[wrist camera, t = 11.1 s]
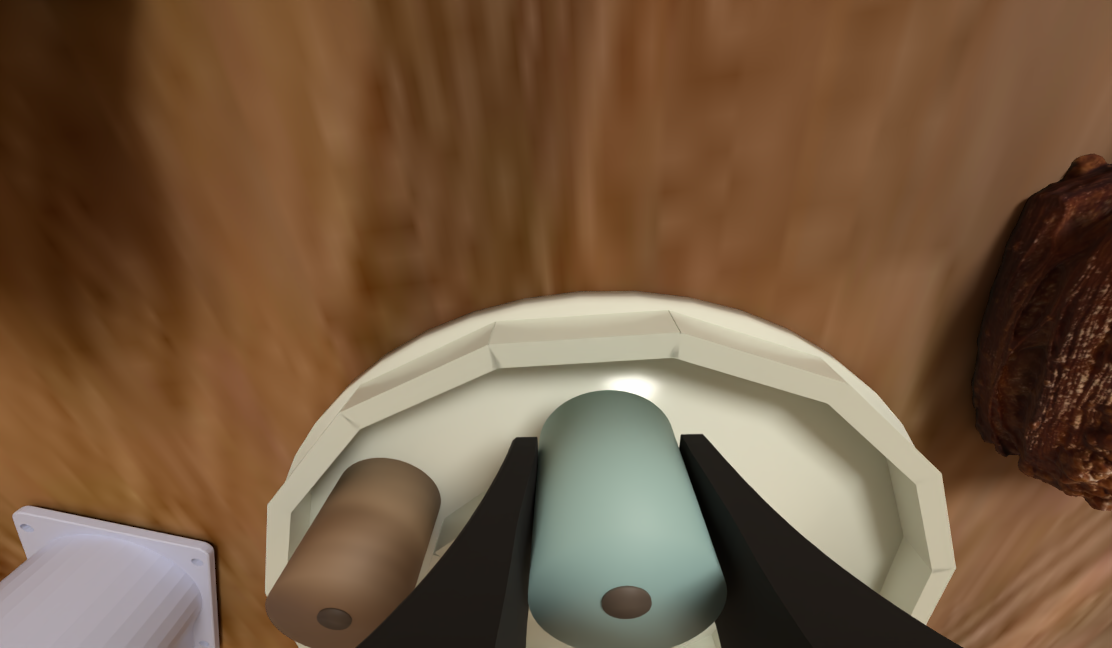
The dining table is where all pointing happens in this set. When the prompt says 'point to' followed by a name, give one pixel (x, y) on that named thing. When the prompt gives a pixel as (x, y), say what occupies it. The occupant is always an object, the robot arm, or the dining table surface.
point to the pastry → (1054, 338)
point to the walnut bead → (357, 555)
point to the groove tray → (672, 385)
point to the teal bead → (618, 530)
